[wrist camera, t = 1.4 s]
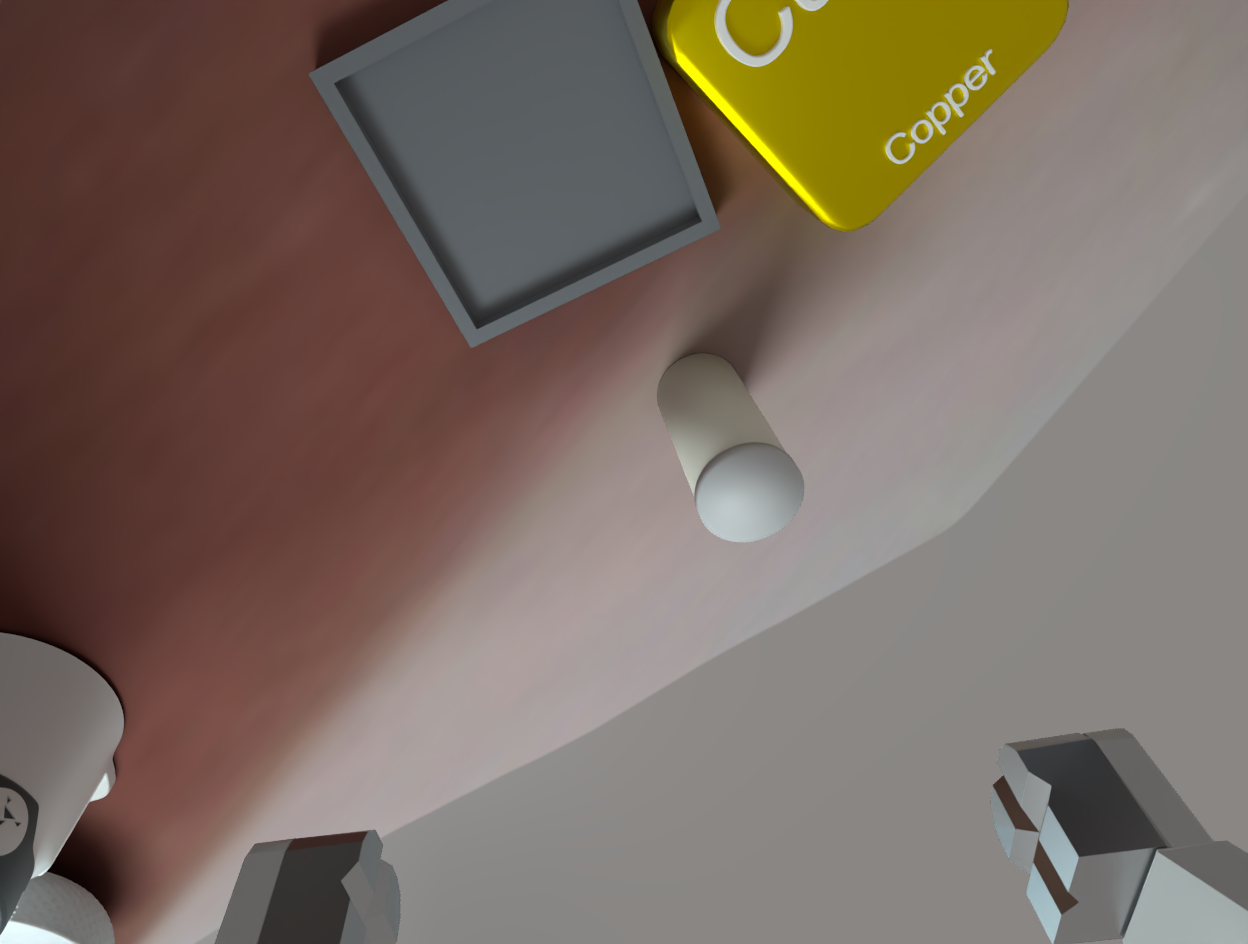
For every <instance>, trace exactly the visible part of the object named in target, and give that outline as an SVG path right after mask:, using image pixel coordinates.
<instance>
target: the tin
mask: <svg viewBox="0 0 1248 944" xmlns="http://www.w3.org/2000/svg"><path fill="white" fill-rule="evenodd" d="M657 402H658V406H659V408H660V411H661V414H662V416H663V419H664V421H665V424H666V426H667V429H668V431H669V434H670V436H671V439H672V441H673V444H674V447H675V449H676V452H677V454H678V457H679V459H680V462H681V464H682V467H683V469H684V472H685V474H686V477H687V479H688V482H689V484H690V487H691V490H692V492H693V495H694V497H695V504H696V507H697V510H698V513H699V515H700V518H701V520H702V522H703V524H704V525H705V526H706V528H707V529H708V530H709V531H710V532H712V533H713V534H714V535H716V536H718V537H720V538H722V539H725V540H728V541H733V542H751V541H756V540H760V539H763V538H766V537H768V536H770V535H772V534H774V533H776V532H777V531H779V530H780V529H782V528H783V527H784V526H786V525H787V524H788V523H789V522H790V521H791V519H792V518H793V517H794V516H795V514H796V513H797V511H798V510H799V507H800V505H801V503H802V500H803V496H804V481H803V477H802V474H801V472H800V470H799V469H798V467H797V465H796V464H795V462H794V461H793V459H792V458H791V457H790V456H789V455H788V454H787V453H786V452H785V450H784V448H783V447H782V445H781V444H780V442H779V440H778V439H777V437H776V436H775V434H774V432H773V431H772V429H771V427H770V426H769V424H768V423H767V421H766V419H765V418H764V416H763V415H762V413H761V411H760V410H759V408H758V406H757V405H756V403H755V402H754V400H753V398H752V397H751V395H750V394H749V392H748V390H747V389H746V387H745V386H744V384H743V382H742V381H741V379H740V377H739V376H738V374H737V373H736V371H735V370H734V368H733V367H732V365H731V364H730V363H729V362H727V361H726V360H725V359H723V358H721V357H719V356H717V355H713V354H707V353H698V354H693V355H689V356H686V357H684V358H682V359H680V360H678V361H677V362H675V363H674V364H673V365H671V366H670V367H669V368H668V369H667V371H666V372H665V373H664V375H663V376H662V378H661V380H660V383H659V385H658V390H657Z"/></svg>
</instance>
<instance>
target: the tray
mask: <svg viewBox="0 0 1248 944" xmlns="http://www.w3.org/2000/svg"><path fill="white" fill-rule="evenodd" d="M309 76H310V78H311V79H312V81H313V83H314V85H315V86H316V88H317V90H318V91H319V93H320V95H321V96H322V98H323V100H324V101H325V103H326V105H327V106H328V108H329V110H330V111H331V113H332V115H333V117H334V118H335V120H336V122H337V123H338V125H339V127H340V128H341V130H342V132H343V133H344V135H345V137H346V138H347V140H348V142H349V143H350V145H351V147H352V149H353V150H354V152H355V154H356V155H357V157H358V159H359V160H360V162H361V164H362V165H363V167H364V169H365V170H366V172H367V174H368V175H369V177H370V179H371V181H372V182H373V184H374V186H375V187H376V189H377V191H378V192H379V194H380V196H381V197H382V199H383V201H384V202H385V204H386V206H387V208H388V209H389V211H390V213H391V214H392V216H393V218H394V219H395V221H396V223H397V224H398V226H399V228H400V229H401V231H402V233H403V234H404V236H405V238H406V240H407V241H408V243H409V245H410V246H411V248H412V250H413V251H414V253H415V255H416V256H417V258H418V260H419V261H420V263H421V265H422V266H423V268H424V270H425V272H426V273H427V275H428V277H429V278H430V280H431V282H432V283H433V285H434V287H435V288H436V290H437V292H438V293H439V295H440V297H441V298H442V300H443V302H444V304H445V305H446V307H447V309H448V310H449V312H450V314H451V315H452V317H453V319H454V320H455V322H456V324H457V325H458V327H459V329H460V331H461V332H462V334H463V336H464V337H465V339H466V341H467V342H468V344H469V346H470V347H471V348H472V347H474V346H476V345H479V344H481V343H483V342H485V341H487V340H489V339H491V338H493V337H495V336H497V335H499V334H502V333H504V332H506V331H508V330H510V329H512V328H514V327H516V326H518V325H520V324H523V323H525V322H527V321H529V320H531V319H533V318H535V317H537V316H539V315H541V314H543V313H546V312H548V311H550V310H552V309H554V308H556V307H558V306H560V305H562V304H564V303H566V302H569V301H571V300H573V299H575V298H577V297H579V296H581V295H583V294H585V293H587V292H590V291H592V290H594V289H596V288H598V287H600V286H602V285H604V284H606V283H608V282H610V281H613V280H615V279H617V278H619V277H621V276H623V275H625V274H627V273H629V272H631V271H633V270H636V269H638V268H640V267H642V266H644V265H646V264H648V263H650V262H652V261H654V260H657V259H659V258H661V257H663V256H665V255H667V254H669V253H671V252H673V251H675V250H677V249H680V248H682V247H684V246H686V245H688V244H690V243H692V242H694V241H696V240H698V239H700V238H703V237H705V236H707V235H709V234H711V233H713V232H715V231H717V230H719V229H721V227H720V224H719V221H718V219H717V216H716V213H715V210H714V208H713V205H712V202H711V200H710V197H709V194H708V191H707V189H706V186H705V183H704V180H703V178H702V175H701V172H700V170H699V167H698V164H697V161H696V159H695V156H694V153H693V151H692V148H691V145H690V142H689V140H688V137H687V134H686V132H685V129H684V126H683V123H682V121H681V118H680V115H679V112H678V110H677V107H676V104H675V102H674V99H673V96H672V93H671V91H670V88H669V85H668V83H667V80H666V77H665V74H664V72H663V69H662V66H661V63H660V61H659V58H658V55H657V53H656V50H655V47H654V44H653V42H652V39H651V36H650V34H649V31H648V28H647V25H646V23H645V20H644V17H643V15H642V12H641V9H640V6H639V4H638V1H637V0H447V1H445V2H443V3H441V4H439V5H437V6H435V7H434V8H432V9H430V10H428V11H426V12H424V13H422V14H420V15H418V16H416V17H414V18H413V19H411V20H409V21H407V22H405V23H403V24H401V25H399V26H397V27H395V28H393V29H392V30H390V31H388V32H386V33H384V34H382V35H380V36H378V37H376V38H374V39H373V40H371V41H369V42H367V43H365V44H363V45H361V46H359V47H357V48H355V49H353V50H352V51H350V52H348V53H346V54H344V55H342V56H340V57H338V58H336V59H334V60H332V61H331V62H329V63H327V64H325V65H323V66H321V67H319V68H317V69H315V70H314V71H312V72H310V73H309Z"/></svg>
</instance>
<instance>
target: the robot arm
mask: <svg viewBox="0 0 1248 944" xmlns="http://www.w3.org/2000/svg"><path fill="white" fill-rule="evenodd" d="M123 729H124V716H123V711H122V707H121V705H120V702H119V700H118V698H117V696H116V694H115V693H114V691H113V690H112V688H111V687H110V686H109V685H108V683H107V682H106V681H105V680H104V679H103V678H102V677H101V676H100V675H99V674H98V673H97V672H96V671H94V670H93V669H92V668H91V667H89V666H88V665H87V664H85V663H84V662H82V661H81V660H79V659H77V658H76V657H74V656H72V655H70V654H69V653H67V652H65V651H63V650H61V649H58V648H56V647H54V646H51V645H49V644H46V643H43V642H40V641H37V640H34V639H30V638H26V637H22V636H18V635H13V634H7V633H0V935H1V934H2V932H3V931H4V929H5V927H6V925H7V923H8V921H10V920H11V918H12V917H13V916H14V914H15V913H16V911H17V909H18V907H19V905H20V903H21V901H22V899H23V896H24V894H25V892H24V891H25V889H26V887H27V885H28V883H29V881H30V879H32V878H34V877H36V876H41V875H43V874H44V873H45V872H46V871H47V870H48V869H49V868H50V867H51V865H52V864H53V862H54V861H55V859H56V857H57V856H58V854H59V852H60V851H61V849H62V847H63V846H64V844H65V842H66V841H67V839H68V837H69V836H70V834H71V832H72V831H73V829H74V827H75V826H76V824H77V822H78V820H79V819H80V817H81V815H82V814H83V812H84V810H85V808H86V807H87V805H88V803H89V802H90V801H94V800H98V799H101V798H103V797H105V796H106V795H107V794H108V793H109V791H110V790H111V788H112V787H113V785H114V783H115V780H116V775H115V768H114V764H113V760H112V759H113V755H114V752H115V750H116V748H117V746H118V744H119V742H120V740H121V737H122V734H123ZM997 764H998V766H999V768H1000V769H1001V771H1002V773H1003V776H1002V777H1001V778H1000V779H999V780H998V781H997V782H995V784H993V786H992V793H991V801H990V804H991V810H992V816H993V823H994V826H995V829H996V831H997V834H998V837H999V840H1000V842H1001V844H1002V846H1003V848H1004V851H1005V853H1006V854H1007V856H1008V858H1009V860H1010V861H1011V862H1013V863H1014V864H1016V865H1017V866H1018V867H1020V868H1021V869H1023V870H1024V871H1025V872H1027V873H1028V874H1029V875H1030V876H1029V881H1028V886H1027V891H1026V894H1027V896H1028V898H1029V900H1030V902H1031V904H1032V906H1033V908H1034V910H1035V912H1036V914H1037V916H1038V918H1039V920H1040V922H1041V923H1042V925H1043V927H1044V929H1045V931H1046V933H1047V935H1048V937H1049V939H1050V941H1051V943H1052V944H1074V943H1083V942H1093V941H1102V940H1112V939H1121V938H1124V939H1123V943H1124V944H1248V853H1247V852H1245V851H1243V850H1242V849H1240V848H1238V847H1237V846H1235V845H1233V844H1232V843H1230V842H1228V841H1227V840H1226V841H1215V842H1214V840H1213V839H1212V838H1211V837H1210V835H1209V834H1208V833H1207V832H1206V830H1205V829H1204V827H1203V826H1202V825H1201V824H1200V822H1199V821H1198V820H1197V818H1196V817H1195V816H1194V814H1193V813H1192V812H1191V810H1190V809H1189V808H1188V806H1187V805H1186V804H1185V802H1184V801H1183V800H1182V798H1181V797H1180V796H1179V795H1178V793H1177V792H1176V791H1175V789H1174V788H1173V787H1172V786H1171V784H1170V783H1169V782H1168V780H1167V779H1166V777H1165V776H1164V775H1163V774H1162V772H1161V771H1160V770H1159V768H1158V767H1157V766H1156V764H1155V763H1154V762H1153V760H1152V759H1151V758H1150V757H1149V755H1148V754H1147V753H1146V751H1145V750H1144V749H1143V747H1142V746H1141V745H1140V743H1139V742H1138V741H1137V739H1136V738H1135V737H1134V736H1133V734H1131V733H1130V732H1128V731H1126V730H1125V729H1122V728H1118V729H1109V730H1103V731H1097V732H1090V733H1084V734H1079V733H1074V734H1067V735H1060V736H1054V737H1048V738H1040V739H1034V740H1027V741H1020V742H1014V743H1007V744H1005V745H1004V746H1003V747H1002V748H1001V749H1000V750H999V755H998V760H997ZM382 848H383V844H382V842H381V840H380V838H379V836H378V834H377V832H376V830H367V831H358V832H350V833H341V834H332V835H324V836H315V837H306V838H298V839H297V838H295V839H287V840H280V841H272V842H265V843H257V844H255V845H254V846H253V847H252V849H251V850H250V852H249V853H248V854H247V856H246V857H245V859H244V862H243V865H242V868H241V870H240V873H239V876H238V879H237V882H236V885H235V887H234V890H233V893H232V896H231V899H230V902H229V904H228V907H227V910H226V913H225V916H224V918H223V921H222V924H221V927H220V930H219V933H218V936H217V938H216V941H215V944H395V943H396V942H397V937H398V930H399V924H400V890H399V885H398V879H397V876H396V873H395V871H394V869H393V866H392V865H390V864H388V863H387V862H385V861H383V860H381V859H380V858H381V853H382Z"/></svg>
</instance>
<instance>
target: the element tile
mask: <svg viewBox="0 0 1248 944" xmlns="http://www.w3.org/2000/svg"><path fill="white" fill-rule="evenodd" d="M1068 7H1069V2H1068V0H657V3H656V6H655V9H654V12H653V15H652V33H653V36H654V39H655V42H656V45H657V47H658V49H659V51H660V53H661V55H662V56H663V58H664V59H665V60H666V61H667V62H668V63H669V64H670V65H671V66H672V67H673V69H674V70H675V71H676V72H677V73H678V74H679V75H680V76H681V77H682V78H683V79H684V81H685V82H686V83H687V84H688V85H689V86H690V87H691V88H692V89H693V90H694V91H695V93H696V94H697V95H698V96H699V97H700V98H701V99H702V100H703V101H704V102H705V103H706V105H707V106H708V107H709V108H710V109H711V110H712V111H713V112H714V113H715V114H716V115H717V117H718V118H719V119H720V120H721V121H722V122H723V123H724V124H725V125H726V126H727V127H728V129H729V130H730V131H731V132H732V133H733V134H734V135H735V136H736V137H737V138H738V139H739V141H740V142H741V143H742V144H743V145H744V146H745V147H746V148H747V149H748V150H749V152H750V153H751V154H752V155H753V156H754V157H755V158H756V159H757V160H758V161H759V162H760V164H761V165H762V166H763V167H764V168H765V169H766V170H767V171H768V172H769V173H770V174H771V176H772V177H773V178H774V179H775V180H776V181H777V182H778V183H779V184H780V185H781V186H782V188H783V189H784V190H785V191H786V192H787V193H788V194H789V195H790V196H791V197H792V198H793V200H794V201H795V202H796V203H797V204H798V205H799V206H801V207H802V208H803V209H805V210H806V211H807V212H809V213H810V214H811V215H813V216H814V217H815V218H817V219H818V220H819V221H821V222H822V223H823V224H825V225H826V226H828V227H829V228H832V229H835V230H837V231H840V232H844V231H855V230H857V229H859V228H862V227H864V226H866V225H868V224H869V223H870V222H872V221H873V220H874V219H876V218H877V217H878V216H879V215H880V214H881V213H882V212H883V211H884V210H885V209H886V208H887V207H888V206H889V205H890V204H891V203H892V202H893V201H894V200H895V199H897V198H898V197H899V196H900V195H901V194H902V193H903V192H904V191H905V190H906V189H907V188H908V187H909V186H910V185H911V184H912V183H913V182H914V181H915V180H916V179H917V178H918V177H919V176H920V175H921V174H922V173H923V172H924V171H925V170H926V169H927V168H928V167H929V166H930V165H931V164H932V163H933V162H934V161H935V160H936V159H937V158H938V157H939V156H940V155H941V154H942V153H943V152H944V151H945V150H946V149H947V148H948V147H949V146H950V145H951V144H952V143H953V142H954V141H955V140H956V139H957V138H958V137H959V136H960V135H961V134H962V133H963V132H964V131H965V130H966V129H967V128H968V127H970V126H971V125H972V124H973V123H974V122H975V121H976V120H977V119H978V118H979V117H980V116H981V115H982V114H983V113H984V112H985V111H986V110H987V109H988V108H989V107H990V106H991V105H992V104H993V103H994V102H995V101H996V100H997V99H998V98H999V97H1000V96H1001V95H1002V94H1003V93H1004V92H1005V91H1006V90H1007V89H1008V88H1009V87H1010V86H1011V85H1012V84H1013V83H1014V82H1015V81H1016V80H1017V79H1018V78H1019V77H1020V76H1021V75H1022V74H1023V73H1024V72H1025V71H1026V70H1027V69H1028V68H1029V67H1030V66H1031V65H1032V64H1033V63H1034V62H1035V61H1036V60H1037V59H1038V58H1039V57H1040V56H1041V55H1043V54H1044V53H1045V52H1046V51H1047V50H1048V48H1049V47H1050V46H1051V44H1052V43H1053V42H1054V41H1055V39H1056V38H1057V36H1058V34H1059V33H1060V31H1061V29H1062V27H1063V25H1064V23H1065V21H1066V16H1067V12H1068Z"/></svg>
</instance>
